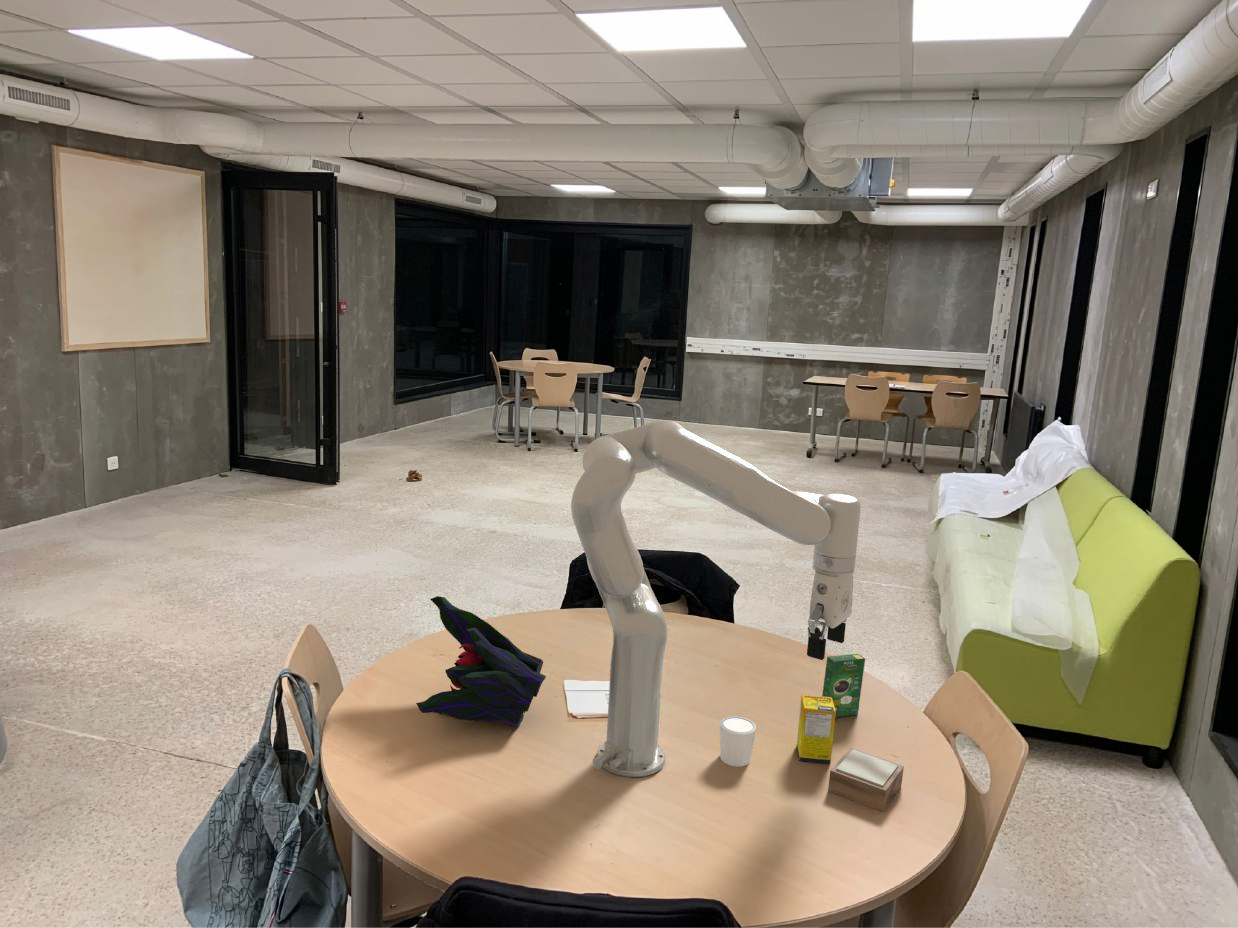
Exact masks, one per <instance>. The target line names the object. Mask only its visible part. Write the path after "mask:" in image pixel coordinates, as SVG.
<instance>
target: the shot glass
mask: <svg viewBox="0 0 1238 928" xmlns="http://www.w3.org/2000/svg"><path fill="white" fill-rule="evenodd" d="M757 728H758V727H757V725H756V723H755V722H754V721H753V720H751V719H749V718H746V717H744V716H743V717H741V716H731V715H730V716H726V717H724V718H722V719H721V720H720V721H719V742H720V743H719V749H720V750H719V753H720V754H719V756H720V757H719V758H720V761H722V762H723V763H724V764H725V765H728V766H732V767H745V766H748V765H749V764H750V762H751V757H752V753H753V748H754V743H755V738H756V733H757Z"/></svg>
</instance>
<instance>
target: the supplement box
mask: <svg viewBox="0 0 1238 928" xmlns="http://www.w3.org/2000/svg"><path fill="white" fill-rule="evenodd" d="M800 697H801V698H800V706H799V707H800V708H799V716H798V717H799V718H798V726H797V728H798V729H797V736H796V737H797V739H796V740H797V741H796V749H797V754H798V755H797V756H798V760H799V761H801V762H812V763H813V762H814V763H821V764H822V763H823V764H831V761H832V752H833V743H834V733H835V732H834V731H835V722H836V718H835V715H836V710H835V707H834V704H833V700H832V697H822V695H821V696H820V695H810V694H801V696H800Z"/></svg>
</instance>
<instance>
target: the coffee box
mask: <svg viewBox="0 0 1238 928" xmlns="http://www.w3.org/2000/svg"><path fill="white" fill-rule="evenodd" d="M865 663H866V658H865V657H863V655H861V654H859V653H852V654H840V655H831V656H829V655H828V656H826V666H825V674H824V678H823V679H824V680H823V686H822V687H823V689H822V694H821V696H822V697H832V700H833V704H834V707H835V710H836V715H835V719H836V718H844V717H853V716H858V715H859V707H860V700H861V693H862V688H863V687H862V685H863V680H864V679H863V678H864V672H865V671H864V670H865Z"/></svg>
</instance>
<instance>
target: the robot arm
mask: <svg viewBox="0 0 1238 928" xmlns="http://www.w3.org/2000/svg"><path fill="white" fill-rule="evenodd" d="M582 466H583V470H584V471H583V473H582V475H581V476H580V478H579V480H578V481H577V483H576V485H575V488H574V490H573V493H572V497H571V501H570V505H571V507H570V510H571V516H572V520H573V524H574V527H575V530H576V533H577V535H578V538H579V541H580V543H581V547H582V550H583V551H584V553H585V554H584V555H585V556H586V562H587V566H588V570H589V573H590V575H591V577H592V580H593V581H594V583H595V586H596V589H598V592H599V595H600V597H601V600H602V602H603V604H604V607H605V610H606V613H607V615H608V618H609V621H610V626H611V628H612V637H613V638H612V639H613V640H612V649H611V656H610V668H609V687H608V689H609V691H608V692H609V693H608V704H607V705H608V706H607V707H608V708H607V710H608V711H607V723H606V741H604V742H603V743H601V745H600V746H598V749H597V756H596V757H595V758H593V760H592V764H593V767H594V768H595V769H597V770H598V769H599V770H600V769H601V768H604V769H605V770H606V771H608V772H610V773H613V774H615V775H618V776H621V777H627V778H629V777H631V778H638V777H639V778H641V777H646V776H650V775H653V774H655V773H657V772H659V771H660V770H661V769H662V768H663V767H664V765H665V763H666V753H665V751H664V749H663V748H661V746H660V745H659V744H658V743H659V729H660V728H659V727H660V714H661V713H660V712H661V697H662V683H663V670H664V669H663V668H664V659H665V652H666V648H667V643H668V635H669V634H668V632H669V631H668V630H669V629H668V623H667V619H666V618H667V617H666V615H665V613H664V610H663V609H662V607H661V605H660V602H658V600H657V597H656V595H655V593H654V591H653V589H652V587H651V584H650V581H649V579H648V576H647V573H646V570H645V569H644V564H643V560H642V557H641V554H640V552H639V550H638V548H637V546H636V544H635V543H634V541H633V540H632V537H631V534H630V533H629V530H628V527H627V523H626V521H625V518H624V515H623V511H622V502H623V499H624V497H625V496H626V494H627V492H628V491H629V490H630V488H631V487H632V485H633V483H634V482H635V478H636V475H637V474H640V473H643V472H647V471H650V470H653V469H657V470H658V471H660V472H661V473H662V474H664V475H665V476H668V477H670V478H671V479H673V480H675V481H678V482H680V483H682V484H684V485H686V486H688V487H690V488H692V489H694V490H695V491H697V492H700V493H702V494H704V495H705V496H707V497H709V498H711V499H713V500H715V501H717V502H719V503H721V504H722V505H724V506H725V507H727V508H729V509H730V510H732V511H735V512H737V513H740V514H741V515H743V516H746V517H747V518H749V519H751V520H753V521H754V522H756V523H758V524H759V525H762V526H763V527H765V528H767V529H768V530H770V531H773V532H775V533H777V534H779V535H781V536H783V537H784V538H786V539H789V540H791V541H793V542H794V543H797V544H798V545H802V546H813V557H812V569H813V570H814V571H815V572H814V576H813V582H812V588H811V594H810V602H809V611H808V612H809V613H808V614H809V618H808V619H807V620H808V621H807V625H808V627H807V636H808V637H807V649H806V650H807V651H806V656H808V657H809V658H813V659H816V660H819V661H823V660H824V659H825V658H826V657H825V656H826V646H827V645H826V644H827V640H828V641H832V642H836V643H838V644H839V643H840V644H843V643H845V634H846V627H847V626H846V624H847V623H846V622H847V619H848V618H849V617H850V616H851V615H852V611H853V610H852V609H853V597H854V596H853V595H854V594H853V593H854V573H855V569H856V568H855V567H856V561H857V560H856V558H857V557H856V556H857V546H858V536H859V528H860V520H861V519H860V518H861V503H860V501H859V500H858V499H857V498H856V497H854V496H852V495H848V494H843V493H829V494H828V493H827V494H817V493H811V492H805V491H804V492H803V491H798V490H796V491H795V490H793V491H792V490H789V488H786V487H784V486H782V485H781V484H779V483H777V482H776V481H774V480H773V479H771V478H769V476H767V475H765V474H764V473H763V472H761V471H760V470H759V469H758V468H757V467H755V466H753V464H751V463H749V462H748V461H747V460H744V459H742V458H741V457H739V456H737V455H734V454H733V453H731V452H729V451H727V450H724V448H721V447H720V446H718V445H715V444H713V443H711V442H709V441H707V440H705V439H704V438H702V437H700V436H698V435H696V434H695V433H693V432H691V431H690V430H687V429H685V428H684V426H682V425H681V424H680V423H677V422H676V421H672V420H658V421H654V422H651V423H647V424H643V425H640V426H636V427H633V428H628V429H625V430H621V431H617V432H613V433H609V434H606V435H603V436H599V437H598V438H596V439H594V440H592V442H590V443H589V444H588V445H587V446H586V448H585V450H584V452H583V455H582ZM820 627H821V629H820ZM826 635H827V637H826ZM825 637H826V638H825Z"/></svg>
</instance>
